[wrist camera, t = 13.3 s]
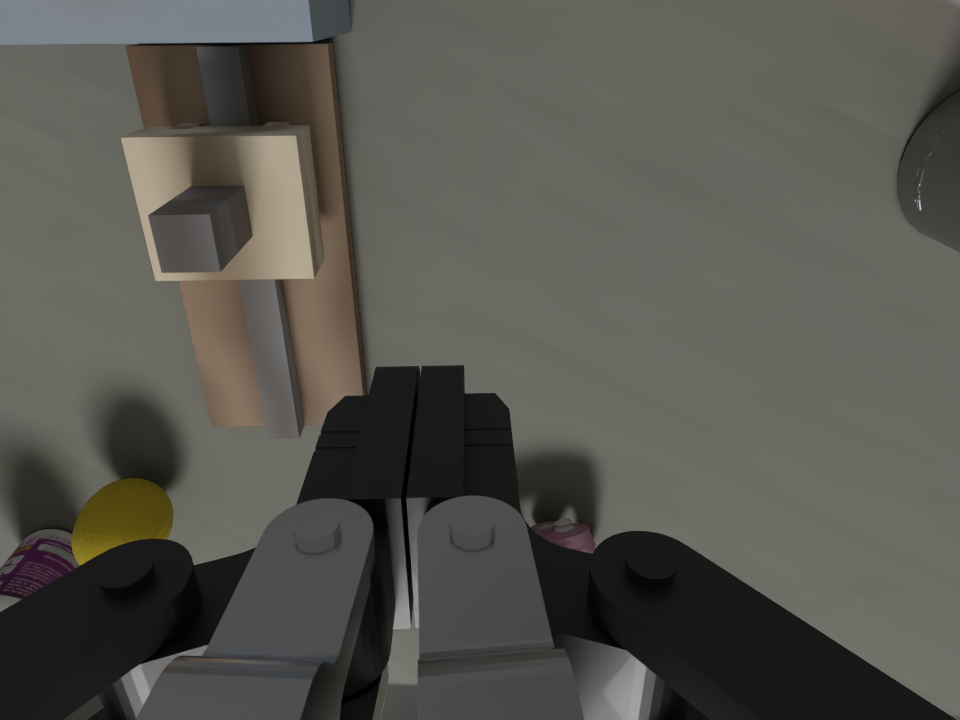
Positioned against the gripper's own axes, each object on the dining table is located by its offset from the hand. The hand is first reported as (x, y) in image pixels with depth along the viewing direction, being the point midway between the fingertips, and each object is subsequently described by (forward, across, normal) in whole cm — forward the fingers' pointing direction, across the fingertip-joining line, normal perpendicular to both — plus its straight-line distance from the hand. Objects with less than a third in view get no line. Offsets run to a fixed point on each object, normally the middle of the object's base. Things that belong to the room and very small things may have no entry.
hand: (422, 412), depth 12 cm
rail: (+29, +11, +7) cm, 32 cm away
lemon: (+29, +22, +24) cm, 44 cm away
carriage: (+27, +11, +3) cm, 29 cm away
